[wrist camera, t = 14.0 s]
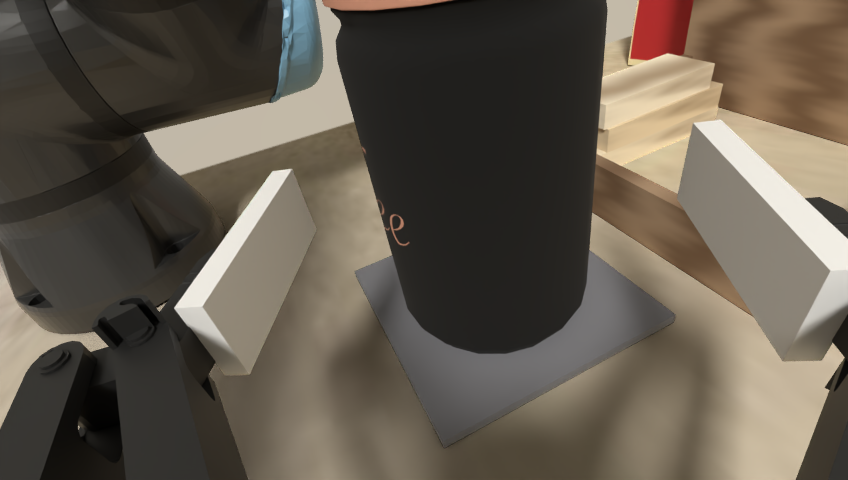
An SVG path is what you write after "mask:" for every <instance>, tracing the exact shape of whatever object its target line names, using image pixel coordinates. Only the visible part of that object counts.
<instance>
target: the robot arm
mask: <svg viewBox="0 0 848 480" xmlns="http://www.w3.org/2000/svg"><path fill="white" fill-rule="evenodd" d="M322 68H323V49H322V40H321V32H320V25H319V18H318V12H317V7H316V2H315V0H0V263H1V266H2V268H3V270H4V273H5V275H6V278H7V280H8V282H9V285H10V287H11V290H12V292H13V294H14V297H15V299H16V301H17V303H18V304H19V306H20V307H21V308H22V309H23V310H24V311H25V312H26V313H27V314H28V315H29V316H30V317H31V318H32V319H33V320H34V321H35V322H36V323H37V324H38V325H39V326H41V327H42V328H43V329H45V330H47V331H50V332H53V333H59V334H77V333H85V332H90V331H95V332H96V334H97V335H98V336H99V337H100V338H101V339H102V340H103V341H104V342H105V343H106V344H107V345H108V346H109V347H106V348H103V349H99V350H96V351H93V352H90V351H89V350H88V349H87V348H86V347H85V346H84V345H83V344H82V343H81V342H77V341H71V342H67V343H63V344H60V345H58V346H56V347H54V348H51V349H50V350H48V351H47V352H45V353H44V354H42V355H41V356H40V357H39V358H38V359H37V360H36V361H35V362H34V363H33V364H32V365H31V366H30V368H29V369H28V371H27V372H26V374H25V376H24V378H23V381H22V383H21V385H20V387H19V389H18V392H17V394H16V396H15V398H14V400H13V403H12V405H11V407H10V409H9V411H8V413H7V416H6V418H5V420H4V422H3V424H2V427H1V429H0V480H248V478H247V475H246V472H245V469H244V466H243V463H242V461H241V458H240V455H239V452H238V449H237V446H236V443H235V440H234V437H233V435H232V432H231V429H230V426H229V423H228V420H227V417H226V414H225V411H224V409H223V406H222V403H221V400H220V397H219V394H218V391H217V388H216V385H215V383H214V381H213V380H212V378H211V377H210V376H209V373H210V371H211V369H212V367H213V365H214V363H216V365H217V366H218V367H219V369H220V370H221V371H222V373H223V374H224V375H225V376H227V375H250V373H251V371H252V369H253V366H254V364H255V362H256V360H257V358H258V356H259V354H260V351H261V349H262V347H263V345H264V343H265V341H266V338H267V336H268V334H269V332H270V330H271V328H272V326H273V323H274V321H275V319H276V317H277V315H278V313H279V310H280V308H281V306H282V304H283V302H284V300H285V298H286V295H287V293H288V291H289V289H290V287H291V285H292V282H293V280H294V278H295V276H296V274H297V272H298V270H299V267H300V265H301V263H302V261H303V259H304V257H305V254H306V252H307V250H308V248H309V246H310V244H311V242H312V239H313V237H314V235H315V233H316V231H317V229H316V227H315V224H314V222H313V219H312V217H311V214H310V212H309V209H308V207H307V204H306V202H305V199H304V197H303V194H302V192H301V189H300V187H299V184H298V182H297V179H296V177H295V174H294V172H293V169H286V170H278V171H272V172H271V174H270V175H269V177H268V178H267V179H266V181H265V182H264V184H263V185H262V186H261V188H260V189H259V191H258V192H257V193H256V195H255V196H254V198H253V199H252V200H251V202H250V203H249V205H248V206H247V207H246V209H245V210H244V211H243V213H242V214H241V216H240V217H239V218H238V220H237V221H236V223H235V224H234V225H233V227H232V228H231V230H230V231H229V232H228V234H227V235H226V237H225V230H224V226H223V224H222V222H221V220H220V219H219V217H218V215H217V213H216V212H215V210H214V208H213V206H212V205H211V204H210V203H209V202H208V200H206V199H205V198H204V197H203V196H202V195H201V194H200V193H199V192H197V191H196V190H195V189H194V188H193V187H192V186H191V185H189V184H188V183H187V182H186V181H185V180H184V179H183V178H182V177H180V176H179V175H178V174H177V173H176V172H175V171H173V169H171V168H170V167H169V166H168V165H167V164H166V163H165V162H164V161H162V160H161V159H160V158H159V157H158V156H157V154H156V153H155V151H154V150H153V148H152V147H151V145H150V143H149V142H148V140H147V138H146V137H145V135H144V134H143V133H145V132H148V131H153V130H157V129H161V128H165V127H169V126H173V125H177V124H181V123H186V122H190V121H194V120H198V119H202V118H207V117H210V116H214V115H219V114H223V113H227V112H232V111H236V110H239V109H244V108H248V107H252V106H256V105H261V104H265V103H273V102H276V101H277V100H279V99H280V98H281V97H284V96H287V95H290V94H293V93H296V92H299V91H302V90H305V89H308V88H310V87H311V86H313V85H314V84H315V83H316V82H317V81H318V79H319V77H320V75H321V72H322ZM677 200H678V201H679V203H680V204H681V206H682V207H683V209H684V210H685V212H686V213H687V215H688V216H689V218H690V220H691V221H692V223H693V224H694V226H695V227H696V229H697V230H698V232H699V233H700V235H701V236H702V238H703V240H704V241H705V243H706V244H707V246H708V247H709V249H710V250H711V252H712V253H713V255H714V256H715V258H716V259H717V261H718V263H719V264H720V266H721V267H722V269H723V270H724V272H725V273H726V275H727V276H728V278H729V279H730V281H731V283H732V284H733V286H734V287H735V289H736V290H737V292H738V293H739V295H740V296H741V298H742V299H743V301H744V303H745V304H746V306H747V307H748V309H749V310H750V312H751V313H752V315H753V316H754V318H755V319H756V321H757V323H758V324H759V326H760V327H761V329H762V330H763V332H764V333H765V335H766V336H767V338H768V339H769V341H770V343H771V344H772V346H773V347H774V349H775V350H776V352H777V353H778V355H779V356H780V358H781V359H782V361H816V360H822V359H823V358H824V356H825V354H826V353H827V351H828V349H829V348H830V346H831V345H832V343H834V344H835V346H836V347H837V348H838V349H839V351H840V352H841V353H842V354H843V356H844V357H845V358H844V359H843V361H842V362H841V364H840V365H839V367H838V368H837V370H836V371H835V373H834V375H833V376H832V378H831V379H830V381H829V382H828V384H827V385H826V387H825V388H826V389H829V390H830V391H829V393H828V396H827V399H826V401H825V404H824V407H823V409H822V412H821V414H820V417H819V420H818V422H817V425H816V428H815V430H814V433H813V436H812V438H811V441H810V444H809V446H808V449H807V451H806V454H805V457H804V459H803V462H802V465H801V467H800V470H799V473H798V475H797V478H796V480H848V212H847V211H846V210H845V209H843V208H842V207H839V206H837V205H835V204H833V203H831V202H829V201H827V200H825V199H823V198H821V197H815V198H804V197H802V196H801V195H800V194H799V193H798V192H797V191H796V190H795V189H794V188H793V187H792V186H791V185H790V184H789V183H788V182H787V181H785V180H784V179H783V178H782V177H781V176H780V175H779V174H778V173H777V172H776V171H775V170H774V169H773V168H772V167H771V166H770V165H768V164H767V163H766V162H765V161H764V160H763V159H762V158H761V157H760V156H759V155H758V154H757V153H756V152H755V151H754V150H753V149H751V148H750V147H749V146H748V145H747V144H746V143H745V142H744V141H743V140H742V139H741V138H740V137H739V136H738V135H737V134H736V133H734V132H733V131H732V130H731V129H730V128H729V127H728V126H727V125H726V124H725V123H724V122H723V121H722V120H714V121H705V122H696V123H693V125H692V130H691V135H690V140H689V144H688V149H687V154H686V158H685V163H684V168H683V172H682V177H681V182H680V187H679V191H678V196H677ZM224 237H225V238H224ZM169 298H170V299H169ZM168 299H169V300H168ZM166 300H168V302H167V303H166V304H165V306H164V307H163V308H162V310H161V311H160V312H159V311H158V310H157V308H156V306H158V305H159V304H161V303H163V302H164V301H166ZM78 426H80V428H79V430H78Z"/></svg>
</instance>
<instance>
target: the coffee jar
mask: <svg viewBox="0 0 848 480" xmlns="http://www.w3.org/2000/svg"><path fill="white" fill-rule="evenodd" d="M322 1H323V4H324V6H326V7H330V8H331V11H332V12H333V13H334V14H335V15H336V16H337V17H338V18H339V19H340V22H341V28H340V31H339V33H338V36H337V39H336V50H337V60H338V65H339V68H340V72H341V75H342V79H343V82H344V86H345V89H346V93H347V96H348V100H349V104H350V107H351V111H352V114H353V118H354V121H355V125H356V128H357V132H358V135H359V139H360V142H361V146H362V150H363V153H364V157H365V160H366V164H367V167H368V171H369V174H370V178H371V181H372V185H373V188H374V192H375V196H376V199H377V203H378V206H379V210H380V213H381V217H382V220H383V224H384V227H385V231H386V234H387V238H388V242H389V245H390V249H391V252H392V256H393V259H394V263H395V266H396V270H397V273H398V277H399V280H400V284H401V287H402V291H403V295H404V298H405V302H406V305H407V309H408V310H409V312H410V313H411V314H412V316H413V317H414V318H415V320H416V321H417V322H418V324H419V325H420V326H421V327H422V328H423V329H424V330H425V331H426V332H428V333H430V334H431V335H433V336H434V337H436V338H438V339H439V340H441V341H442V342H444V343H446V344H448V345H451V346H452V347H455V348H459V349H462V350H466V351H470V352H474V353H477V354H507V353H511V352H515V351H519V350H522V349H526V348H530V347H533V346H535V345H536V344H538V343H540V342H541V341H543V340H545V339H546V338H548V337H550V336H551V335H553V334H555V333H556V332H558V331H559V330H561V329H562V328H563V327H564V326H565V324H566V323H567V322H568V321H569V320H570V318H571V317H572V316H573V315H574V313H575V312H576V311H577V310H578V308H579V307H580V306H581V304H582V300H583V296H584V292H585V288H586V284H587V272H588V258H589V245H590V232H591V219H592V206H593V193H594V180H595V167H596V153H597V140H598V127H599V114H600V101H601V88H602V75H603V62H604V48H605V35H606V22H607V3H606V0H322Z"/></svg>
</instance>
